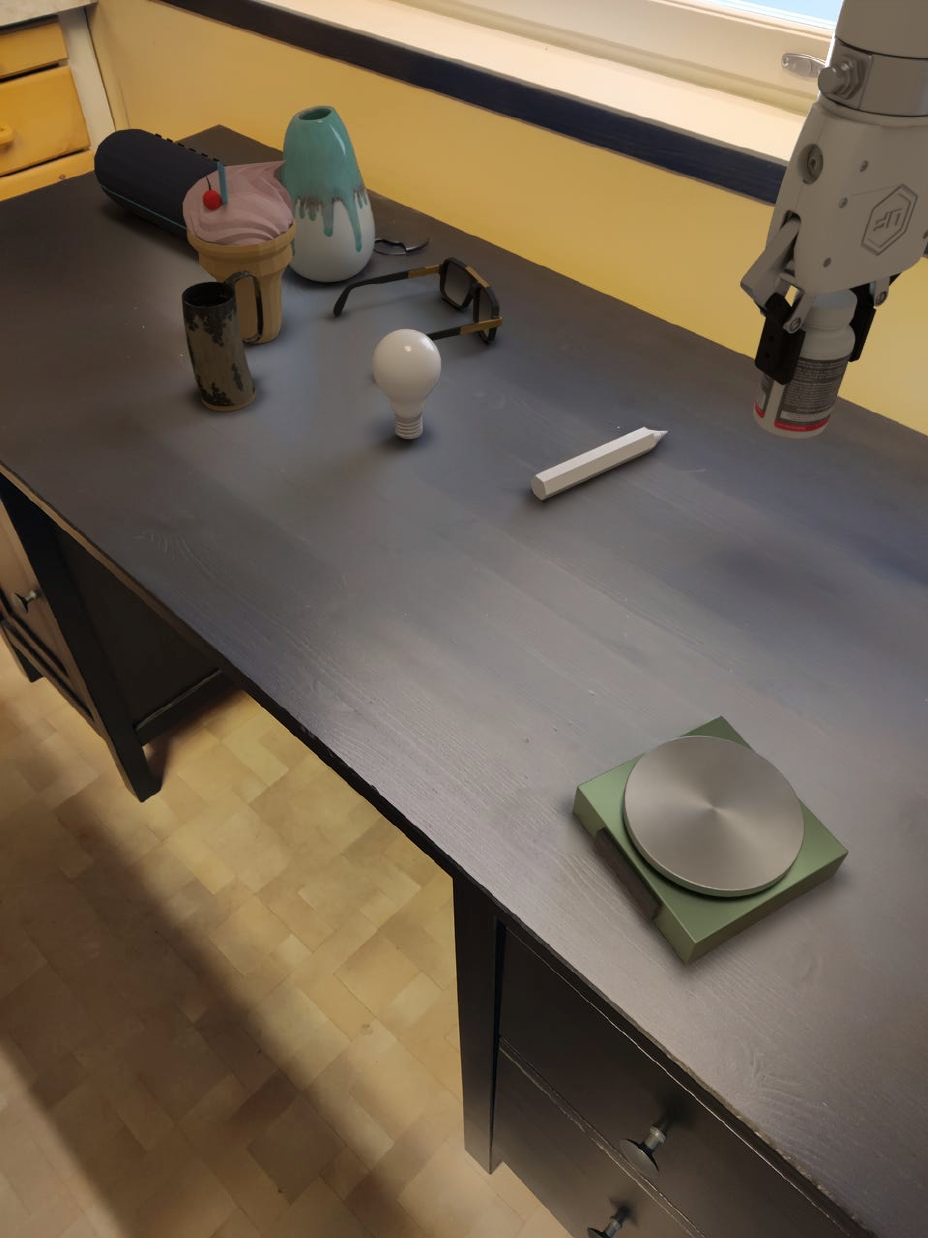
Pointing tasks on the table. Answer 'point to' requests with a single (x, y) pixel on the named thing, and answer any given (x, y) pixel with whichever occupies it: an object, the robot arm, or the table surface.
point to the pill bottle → (811, 371)
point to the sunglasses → (449, 296)
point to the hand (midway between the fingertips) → (806, 361)
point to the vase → (326, 198)
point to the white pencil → (594, 462)
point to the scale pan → (713, 816)
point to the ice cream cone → (244, 236)
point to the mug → (220, 342)
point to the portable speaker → (150, 175)
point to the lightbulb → (406, 376)
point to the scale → (679, 910)
